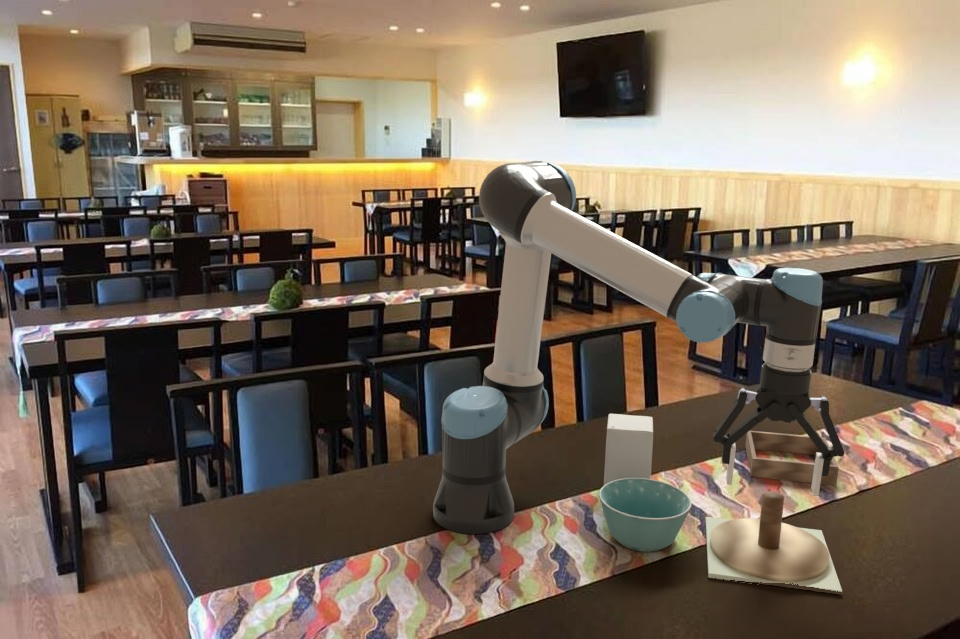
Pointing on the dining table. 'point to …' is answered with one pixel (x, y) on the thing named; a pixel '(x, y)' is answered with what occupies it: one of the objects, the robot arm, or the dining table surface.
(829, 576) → the mat
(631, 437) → the supplement box
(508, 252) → the robot arm
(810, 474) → the holder corral
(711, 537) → the lid
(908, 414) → the dining table surface
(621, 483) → the bowl
